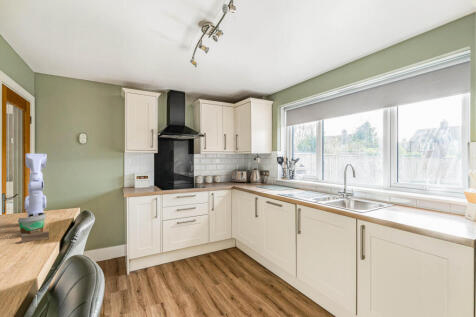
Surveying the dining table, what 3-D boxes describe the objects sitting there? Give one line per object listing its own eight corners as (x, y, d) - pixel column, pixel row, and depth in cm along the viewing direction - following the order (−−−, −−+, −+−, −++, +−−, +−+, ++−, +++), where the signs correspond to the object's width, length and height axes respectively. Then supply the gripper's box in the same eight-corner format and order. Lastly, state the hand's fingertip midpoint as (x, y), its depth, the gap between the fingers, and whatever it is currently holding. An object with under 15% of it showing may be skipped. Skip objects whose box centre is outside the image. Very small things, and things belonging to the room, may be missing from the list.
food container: (26, 238, 112) (27, 218, 112) (17, 237, 113) (17, 218, 113) (51, 231, 124) (52, 213, 124) (43, 230, 125) (43, 212, 125)
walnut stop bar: (21, 241, 108) (21, 235, 108) (48, 236, 115) (48, 230, 115) (21, 243, 106) (21, 236, 106) (48, 238, 113) (48, 232, 113)
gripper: (26, 201, 128) (26, 225, 128) (25, 205, 117) (25, 231, 117) (42, 200, 133) (42, 222, 133) (43, 203, 122) (43, 228, 122)
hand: (35, 226), depth 125 cm, fingers closed
